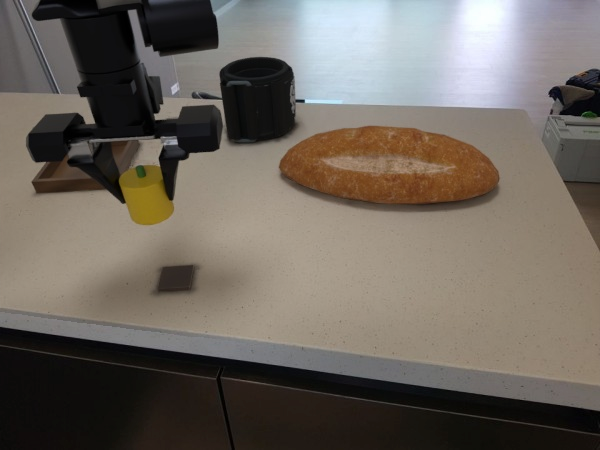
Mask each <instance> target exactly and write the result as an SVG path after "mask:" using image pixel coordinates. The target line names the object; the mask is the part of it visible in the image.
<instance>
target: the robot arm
mask: <svg viewBox="0 0 600 450" xmlns="http://www.w3.org/2000/svg"><path fill="white" fill-rule="evenodd" d="M129 11H135V13H136V17H137V21H138V25H139V31H140V34H141V37H142V41H143V44H144V47H145V48H152V50H153V53H156V52H157V53H158V56H159V58H163V57H169V56H170V57H171V56H177V55H183V54H191V53H199V52H203V51H210V50H211V51H212V50H217V49H218V48H219V44H220V38H219V28H218V20H217V16H216V14H215V13H214V10H213V5H212V2H211V0H38V1H37V2H36V3H35V5H34V7H33V9H32V11H31V18H32V19H33V20H34V21H36V22H43V21H52V20H59V21H60V24H61V27H62V29H63V32H64V36H65V39H66V41H67V44H68V47H69V50H70V53H71V56H72V60H73V62H74V65H75V68H76V71H77V74H78V78H79V80H80V82H79V84H77V86H76V89H77V92H78V95H79V97H80V98H86V100H87V103H88V106H89V109H90V113H91V115H92V118H93V121H94V123H86V121H85V118H84V116H83V115H82V114H80V113H79V112H66V113H62V112H61V113H49V114H48V113H47V114H44V115H43V117H42V118H41V119H40V120H39V121H38V122H37V124H35V126H34V127H32V129H31V130H30V131H29V132H28V134H27V135H26V138H25V147H26V149H27V151H28V153H29V155H30V158H31V160H32V161H33V162H34V163H35V164H37V163H38V164H39V163H46V162H56V161H62V160H63V159H64V157H65V156H66V155H67V153H68V156H69V159H68V160H67V164H68V166H69V167H77V168H79V169H80V170H82V171H83V172H84V173H86V174H87V175H89V176H90V177H91V178H93V179H94V180H96V181H97V182H98V183H99V184H101V185H102V186H103V187H104V188H105V189H104V190H106V191H108V192H109V194H111V195H112V196H113V197H114V198H116V200H117V201H119V202H120V203H121V204H122V205H123V204H124V205H126V202H125V199H124V196H123V193H122V190H121V187H120V184H119V178H120V176H121V175H120V172H119V170H118V167H117V165H116V162H115V159H114V157H113V154H112V146H111V142H118V141H135V140H138V141H149V140H160V142H161V144H162V147H161V150H160V153H159V155H158V158H157V159H158V163H159V167H160V168H161V173H162V177H163V181H164V186H165V190H166V194H167V196H168V198H169V200H170V201H174V199H175V196H176V195H175V193H176V185H177V177H178V169H179V165H180V162H181V161H182V162H183V161H186V160H188V159H189V158H190V155H191V154H202V153H214V152H217V151H218V150H220V149H221V143H222V142H221V141H222V135H223V130H224V123H223V117H222V112H221V109H220V108H219V107H217V106H216V105H215V104H200V105H199V104H198V105H183V106H181V109H180V112H179V115H178V116H175V117H174V116H173V117H168V118H165V119H163V118H162V119H156V117H155V115H159V114H160V112H161V106H164V104H165V103H164V98H163V90H162V83H161V82H162V81H161V76H160V75H148V71H147V68H146V66H145V63H144V62H142V61H141V57H140V52H139V49H138V45H137V41H136V36H135V33H134V28H133V25H132V24H133V23H132V20H131V16H130V13H129Z"/></svg>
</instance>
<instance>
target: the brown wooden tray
mask: <svg viewBox="0 0 600 450" xmlns="http://www.w3.org/2000/svg"><path fill="white" fill-rule="evenodd" d="M111 146H112V154H113V157H114V159H115V162H116V165H117V167H118V170H119V172H120V175H122V174H123V173H124V172H126V171H127V170H129V167H130V166H131V163H132V161H133V159H134V157H135V155H136V153H137V150H138V148H139V146H140V140H135V141H118V142H111ZM68 159H69V156H68V153H67V155H66V156H65V157H64V159H63V160H62V161H56V162H44V164H43V165H42V167H41V168H40V169H39V171H38V172H37V173H36V175H35V176H34V177H33V179H32V180H31V182H30V183H31V184H32V186H33V189H34V190H35V193H36V194H48V193H49V194H51V193H64V192H65V193H66V192H81V191H98V190H100V191H101V190H106V189H105V188H104V187H103V186H102V185H101V184H99V183H98V182H97V181H96V180H94V179H93V178H91V177H90V176H89V175H87V174H86V173H84V172H83V171H82V170H80V169H79V168H77V167H69V166H68V164H67V160H68Z"/></svg>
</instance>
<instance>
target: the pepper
mask: <svg viewBox="0 0 600 450" xmlns="http://www.w3.org/2000/svg"><path fill="white" fill-rule="evenodd" d="M119 184H120V187H121V190H122V193H123V196H124V199H125V202H126V204H125V205H126V208H127V211H128V214H129V217H130V219H131V221H132V222H133V223H135V224H137V225H139V226H140V225H141V226H153V225H157V224H160V223H163V222H165V221H167V220H168V219H169V218H171V217H172V215H173V214H174V212H175V205H174V202H173V201H174V200H173V201H170V200H169V198H168V196H167V194H166V190H165V186H164V181H163V177H162V173H161V168H160V165H156V164H143V165H142V164H138V165H136V166H134V167H131V168H128V170H127V171H126V172H124V173H123V174H122V175H121V176H120V178H119Z"/></svg>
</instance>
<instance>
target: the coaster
mask: <svg viewBox="0 0 600 450" xmlns="http://www.w3.org/2000/svg"><path fill="white" fill-rule="evenodd" d="M194 270H195V266H194V264H187V265H171V266H170V265H169V266H163V267H162V269H161V273H160V277H159V281H158V284H157V288H156V290H157V292H158V293H162V292H165V293H166V292H178V291H179V292H181V291H190V290H191V287H192V281H193V276H194Z"/></svg>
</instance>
